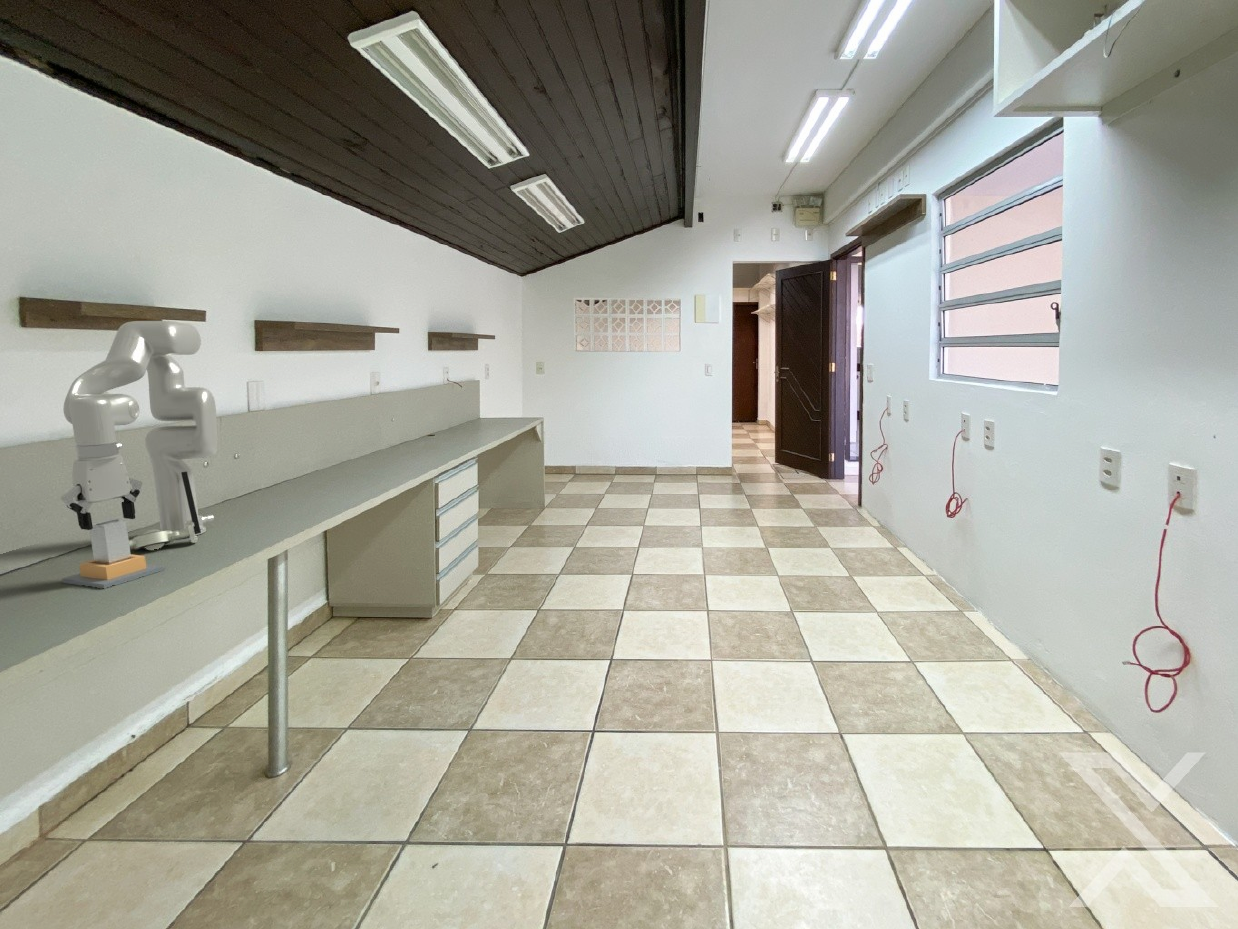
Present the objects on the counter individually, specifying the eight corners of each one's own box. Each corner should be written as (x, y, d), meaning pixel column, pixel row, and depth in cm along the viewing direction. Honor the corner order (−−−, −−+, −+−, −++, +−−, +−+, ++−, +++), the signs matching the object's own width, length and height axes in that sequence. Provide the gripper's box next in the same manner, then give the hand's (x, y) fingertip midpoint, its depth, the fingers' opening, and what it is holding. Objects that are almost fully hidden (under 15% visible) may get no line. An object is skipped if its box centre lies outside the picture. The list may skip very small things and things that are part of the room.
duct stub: (117, 567, 163) (111, 518, 161) (132, 569, 161) (125, 519, 159) (96, 574, 158) (88, 523, 156) (111, 576, 157) (103, 524, 155)
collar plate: (124, 564, 169) (122, 549, 168) (164, 570, 164) (162, 554, 164) (62, 582, 156) (59, 565, 155) (104, 588, 151) (101, 571, 151)
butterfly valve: (125, 556, 175) (202, 539, 184) (109, 481, 177) (186, 468, 186) (130, 558, 183) (203, 542, 192) (114, 486, 184) (188, 474, 193)
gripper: (124, 445, 165) (134, 513, 168) (44, 457, 149) (57, 532, 152) (146, 446, 162) (156, 515, 165) (67, 458, 146) (80, 535, 149)
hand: (108, 523), depth 159 cm, fingers open, 9 cm apart
